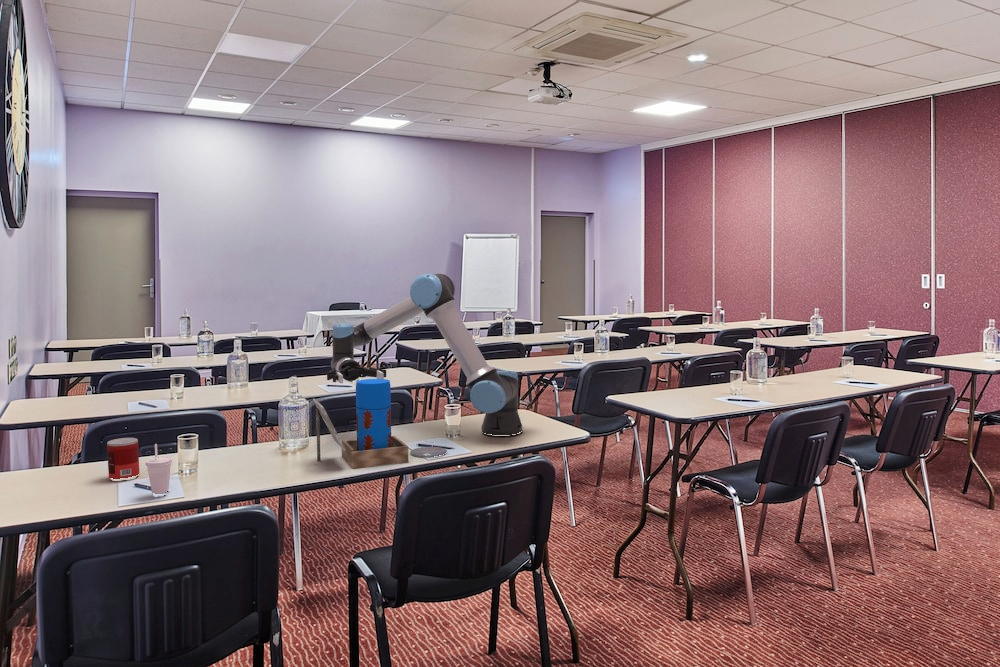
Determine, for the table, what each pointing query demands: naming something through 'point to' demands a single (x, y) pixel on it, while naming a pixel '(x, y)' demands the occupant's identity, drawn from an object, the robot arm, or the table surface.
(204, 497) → the table surface
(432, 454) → the disc
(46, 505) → the table surface
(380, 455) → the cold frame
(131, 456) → the canned food
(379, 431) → the thermos
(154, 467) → the smoothie
